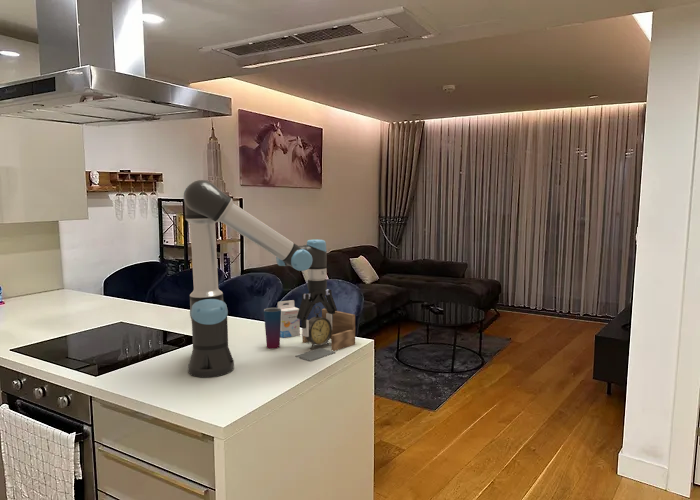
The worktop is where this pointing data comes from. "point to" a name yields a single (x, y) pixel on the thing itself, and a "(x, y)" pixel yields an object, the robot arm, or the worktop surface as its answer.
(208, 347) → the robot arm
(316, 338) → the alarm clock
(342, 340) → the wooden holder
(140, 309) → the worktop surface
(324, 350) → the slate pad
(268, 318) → the cup
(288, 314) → the ink box
